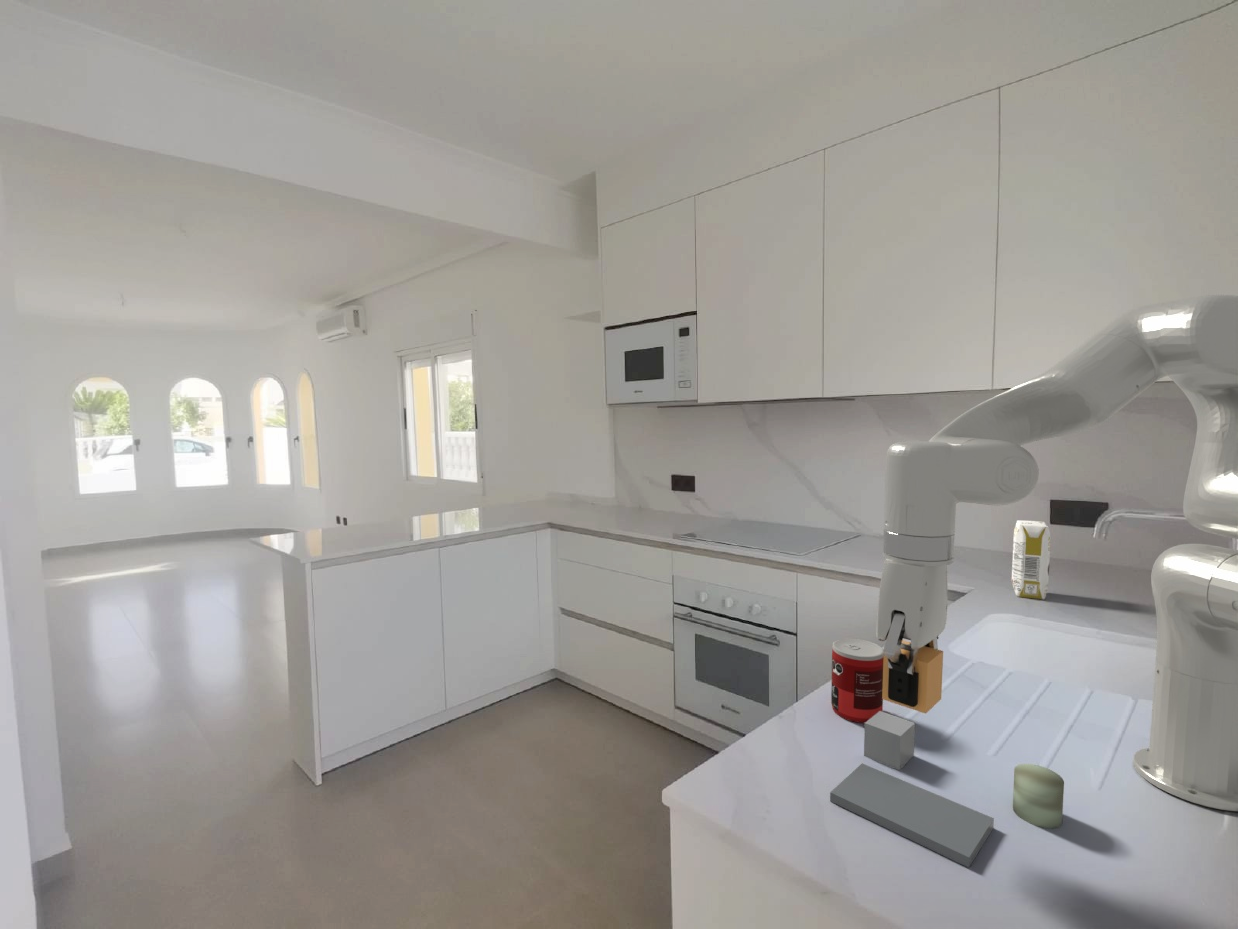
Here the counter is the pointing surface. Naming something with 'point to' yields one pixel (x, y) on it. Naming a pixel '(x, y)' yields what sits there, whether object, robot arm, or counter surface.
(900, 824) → the slate board
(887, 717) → the grey block
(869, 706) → the canned food
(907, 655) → the orange block
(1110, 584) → the counter surface
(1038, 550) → the juice carton
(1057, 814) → the sage cylinder
